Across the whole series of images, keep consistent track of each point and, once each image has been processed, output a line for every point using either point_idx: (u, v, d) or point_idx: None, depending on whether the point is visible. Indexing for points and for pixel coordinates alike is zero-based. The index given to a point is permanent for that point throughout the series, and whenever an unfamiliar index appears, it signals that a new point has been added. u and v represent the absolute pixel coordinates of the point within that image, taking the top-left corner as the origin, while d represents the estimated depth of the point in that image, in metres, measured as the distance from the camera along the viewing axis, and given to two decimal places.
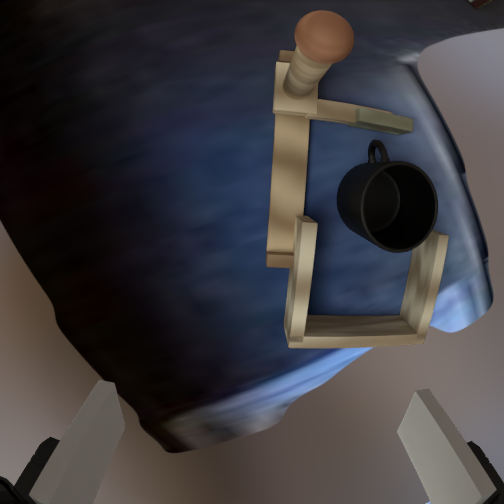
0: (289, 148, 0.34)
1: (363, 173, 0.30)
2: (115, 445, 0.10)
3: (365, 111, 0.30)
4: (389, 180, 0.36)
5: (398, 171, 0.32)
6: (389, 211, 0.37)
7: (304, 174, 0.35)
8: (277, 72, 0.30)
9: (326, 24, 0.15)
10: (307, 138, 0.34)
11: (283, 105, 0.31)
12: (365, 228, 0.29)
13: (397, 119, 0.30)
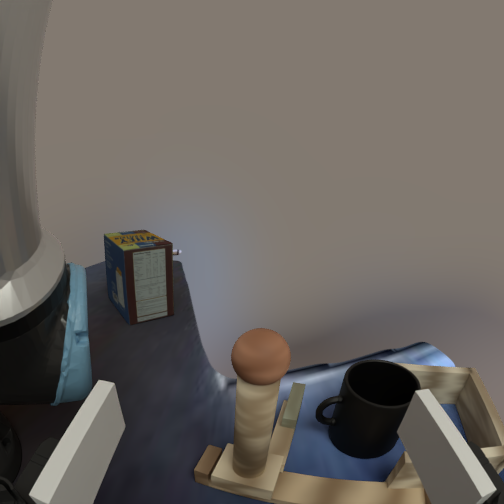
0: (314, 492, 0.23)
1: (353, 416, 0.28)
2: (115, 445, 0.10)
3: (287, 414, 0.31)
4: None
5: None
6: None
7: (343, 481, 0.24)
8: (225, 478, 0.23)
9: (262, 334, 0.20)
10: (304, 475, 0.25)
11: (269, 482, 0.23)
12: (407, 404, 0.26)
13: (294, 393, 0.35)
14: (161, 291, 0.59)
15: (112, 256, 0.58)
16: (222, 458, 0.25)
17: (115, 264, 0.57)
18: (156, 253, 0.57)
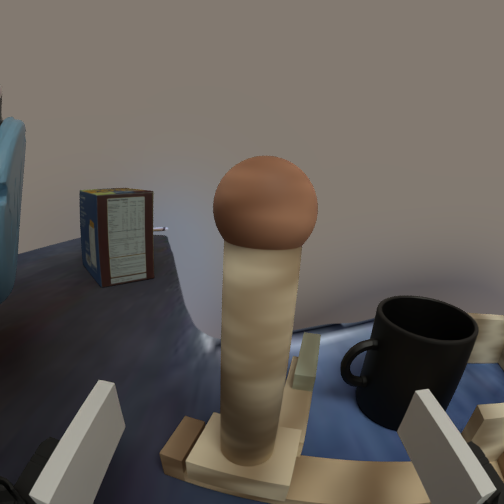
0: (351, 484, 0.15)
1: (397, 365, 0.20)
2: (115, 445, 0.10)
3: (300, 369, 0.22)
4: None
5: None
6: None
7: (391, 464, 0.16)
8: (209, 466, 0.14)
9: (268, 156, 0.12)
10: (332, 460, 0.17)
11: (282, 471, 0.14)
12: (470, 339, 0.18)
13: (307, 344, 0.26)
14: (139, 248, 0.50)
15: (86, 210, 0.49)
16: (204, 435, 0.17)
17: (88, 217, 0.48)
18: (134, 201, 0.48)
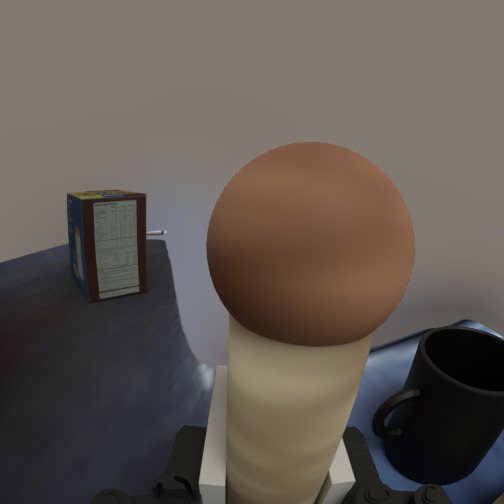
0: None
1: (443, 420, 0.13)
2: None
3: None
4: None
5: None
6: None
7: None
8: None
9: None
10: None
11: None
12: None
13: None
14: (131, 258, 0.44)
15: (72, 215, 0.43)
16: None
17: (74, 224, 0.42)
18: (124, 206, 0.42)
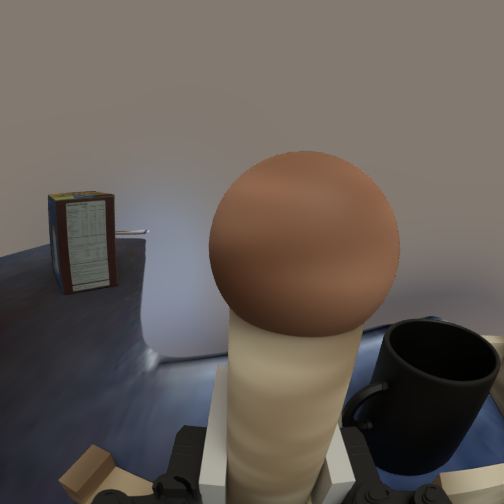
0: None
1: (414, 412, 0.15)
2: None
3: None
4: None
5: None
6: None
7: None
8: None
9: (313, 152, 0.06)
10: None
11: None
12: (495, 373, 0.13)
13: None
14: (101, 254, 0.46)
15: (50, 215, 0.45)
16: None
17: (52, 223, 0.44)
18: (94, 206, 0.44)
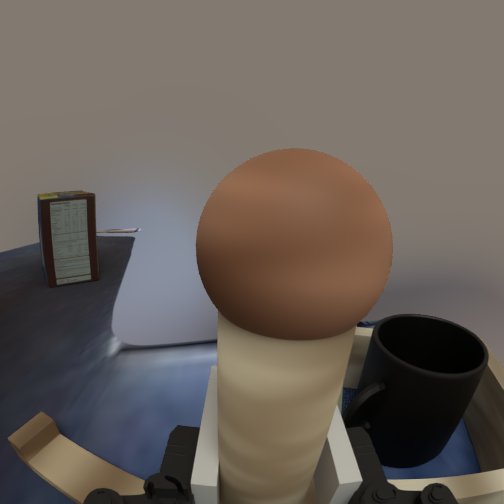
0: None
1: (415, 408, 0.15)
2: None
3: None
4: None
5: None
6: None
7: None
8: None
9: (302, 149, 0.06)
10: None
11: None
12: (487, 361, 0.15)
13: None
14: (82, 250, 0.47)
15: (38, 213, 0.47)
16: None
17: None
18: (76, 204, 0.45)
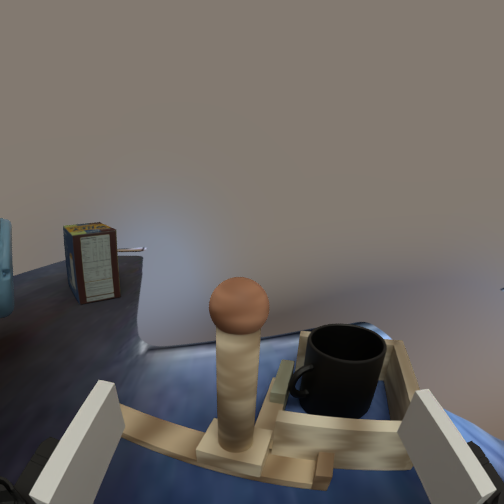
0: (190, 444, 0.26)
1: (330, 380, 0.30)
2: (115, 445, 0.10)
3: (275, 388, 0.31)
4: None
5: None
6: None
7: None
8: (210, 452, 0.23)
9: (239, 280, 0.21)
10: (185, 428, 0.28)
11: (257, 456, 0.23)
12: (381, 355, 0.30)
13: (283, 369, 0.35)
14: (107, 274, 0.62)
15: (67, 243, 0.61)
16: (207, 433, 0.25)
17: (69, 250, 0.60)
18: (101, 238, 0.60)
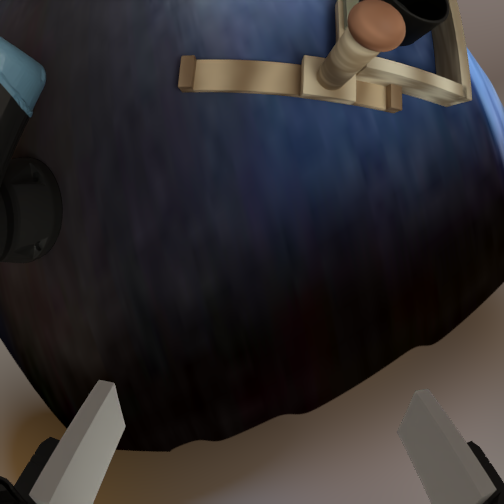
0: (286, 79, 0.31)
1: None
2: (115, 445, 0.10)
3: None
4: None
5: None
6: None
7: None
8: (315, 93, 0.30)
9: (388, 17, 0.14)
10: (274, 63, 0.31)
11: (351, 92, 0.29)
12: (446, 18, 0.21)
13: None
14: None
15: None
16: (305, 73, 0.29)
17: None
18: None
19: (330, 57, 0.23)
